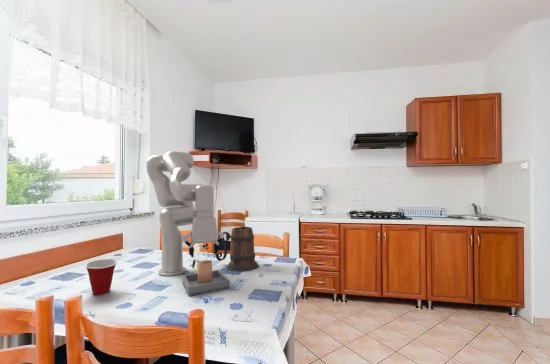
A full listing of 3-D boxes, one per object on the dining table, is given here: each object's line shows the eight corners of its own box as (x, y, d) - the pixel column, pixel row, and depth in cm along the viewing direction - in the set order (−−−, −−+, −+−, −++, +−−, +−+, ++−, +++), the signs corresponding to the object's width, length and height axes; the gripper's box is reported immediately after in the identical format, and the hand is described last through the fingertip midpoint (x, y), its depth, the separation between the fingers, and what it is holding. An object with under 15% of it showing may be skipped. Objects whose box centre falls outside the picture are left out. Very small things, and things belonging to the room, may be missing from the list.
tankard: (263, 263, 147) (263, 226, 148) (252, 272, 131) (251, 231, 132) (223, 260, 154) (223, 224, 154) (208, 269, 138) (208, 229, 138)
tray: (182, 283, 118) (182, 275, 118) (219, 277, 125) (218, 269, 125) (188, 296, 104) (188, 287, 104) (229, 288, 111) (229, 280, 111)
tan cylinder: (196, 282, 116) (196, 261, 116) (210, 280, 118) (210, 259, 119) (199, 287, 110) (198, 264, 111) (214, 284, 113) (213, 262, 113)
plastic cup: (93, 300, 102) (93, 267, 102) (79, 294, 107) (79, 263, 108) (123, 290, 111) (122, 260, 111) (108, 285, 117) (108, 257, 117)
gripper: (184, 216, 108) (183, 260, 108) (226, 214, 116) (226, 255, 116) (181, 214, 115) (181, 255, 115) (222, 212, 122) (221, 250, 122)
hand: (203, 255), depth 115 cm, fingers open, 9 cm apart
